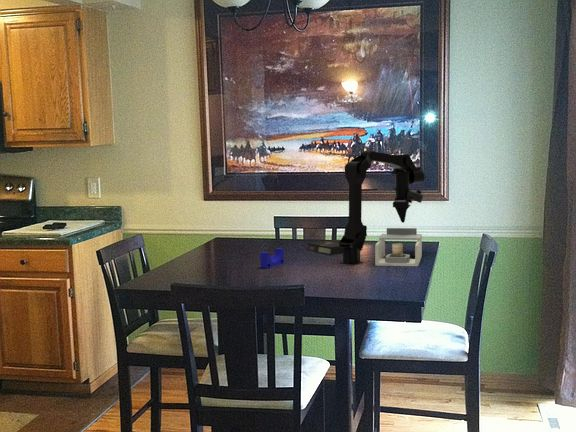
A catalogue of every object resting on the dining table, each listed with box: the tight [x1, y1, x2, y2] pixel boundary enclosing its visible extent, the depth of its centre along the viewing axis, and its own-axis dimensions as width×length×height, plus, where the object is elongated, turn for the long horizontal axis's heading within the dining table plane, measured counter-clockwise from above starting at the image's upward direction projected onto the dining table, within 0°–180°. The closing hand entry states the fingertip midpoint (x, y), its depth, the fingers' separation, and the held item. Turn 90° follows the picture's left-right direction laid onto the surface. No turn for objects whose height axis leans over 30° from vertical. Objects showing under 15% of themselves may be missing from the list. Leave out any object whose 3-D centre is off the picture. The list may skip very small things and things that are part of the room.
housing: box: [374, 236, 423, 267], centre depth 279 cm, size 24×16×8 cm, turn 166°
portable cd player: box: [307, 239, 363, 256], centre depth 306 cm, size 16×17×4 cm
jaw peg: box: [391, 242, 404, 257], centre depth 272 cm, size 4×4×6 cm
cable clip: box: [259, 247, 285, 269], centre depth 277 cm, size 12×4×6 cm, turn 148°
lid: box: [378, 227, 423, 241], centre depth 284 cm, size 11×16×3 cm
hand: (403, 222), depth 292 cm, fingers closed
